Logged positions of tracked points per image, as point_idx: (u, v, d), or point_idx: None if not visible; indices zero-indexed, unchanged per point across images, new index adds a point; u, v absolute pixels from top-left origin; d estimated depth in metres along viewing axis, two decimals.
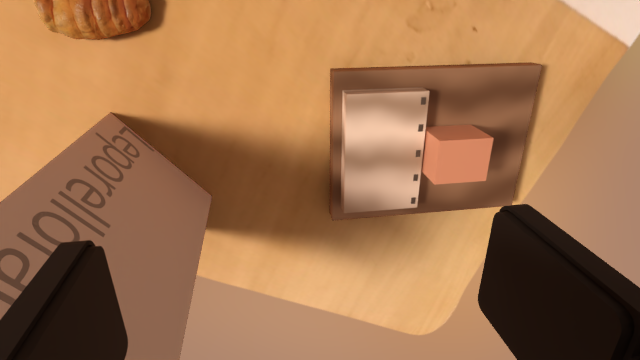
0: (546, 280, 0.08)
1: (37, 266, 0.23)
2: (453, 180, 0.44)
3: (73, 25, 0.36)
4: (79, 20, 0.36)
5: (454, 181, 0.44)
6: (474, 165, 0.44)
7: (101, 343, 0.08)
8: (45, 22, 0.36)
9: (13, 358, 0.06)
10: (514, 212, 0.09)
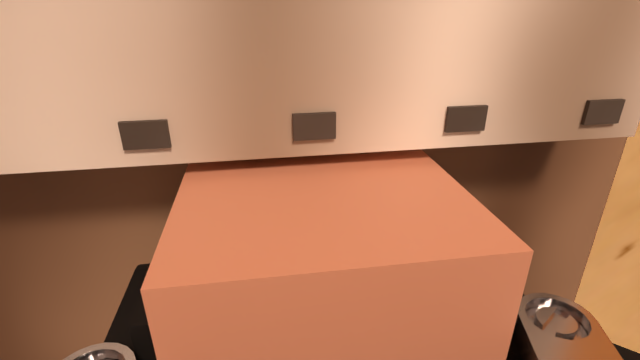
0: None
1: None
2: None
3: None
4: None
5: None
6: None
7: None
8: None
9: None
10: None
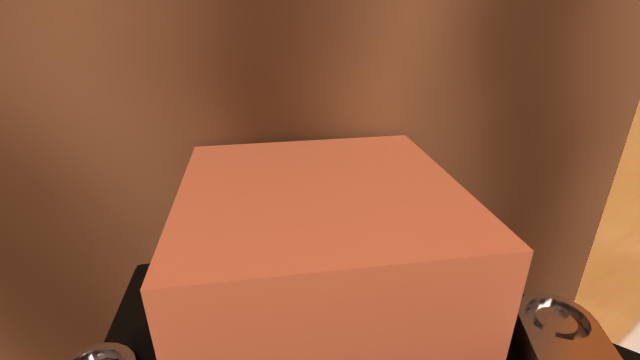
0: None
1: None
2: None
3: None
4: None
5: None
6: None
7: None
8: None
9: None
10: None
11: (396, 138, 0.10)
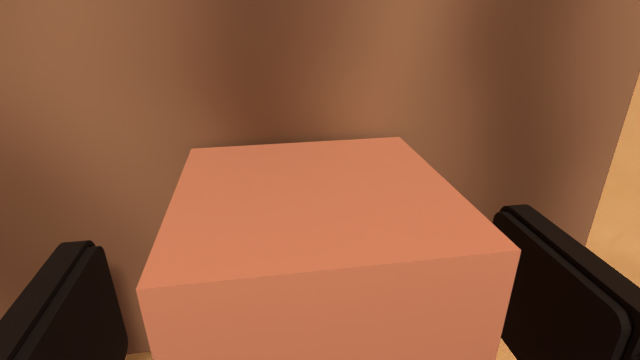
0: (546, 280, 0.08)
1: None
2: None
3: None
4: None
5: None
6: None
7: (101, 343, 0.08)
8: None
9: (13, 358, 0.06)
10: (514, 212, 0.09)
11: (390, 140, 0.10)
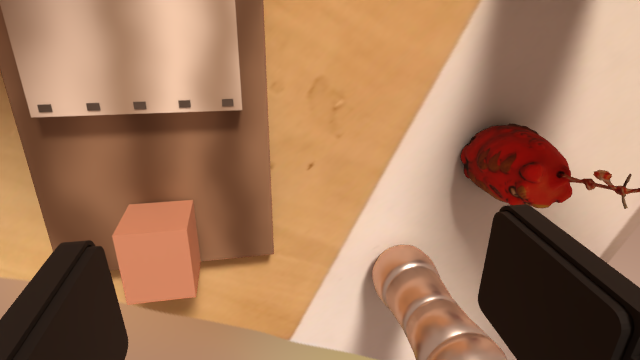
0: (546, 280, 0.08)
1: None
2: (122, 261, 0.29)
3: None
4: None
5: (121, 263, 0.29)
6: (150, 284, 0.30)
7: (101, 343, 0.08)
8: None
9: (13, 358, 0.06)
10: (514, 212, 0.09)
11: (189, 201, 0.33)
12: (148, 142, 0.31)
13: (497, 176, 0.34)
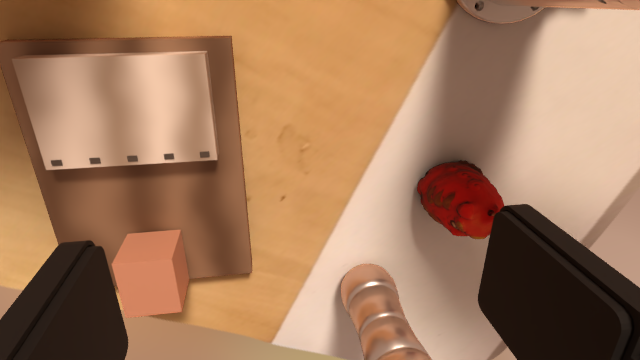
0: (546, 280, 0.08)
1: None
2: (120, 284, 0.36)
3: None
4: None
5: (119, 285, 0.36)
6: (144, 301, 0.37)
7: (101, 343, 0.08)
8: None
9: (13, 358, 0.06)
10: (514, 212, 0.09)
11: (177, 230, 0.40)
12: (142, 184, 0.38)
13: (440, 211, 0.39)
